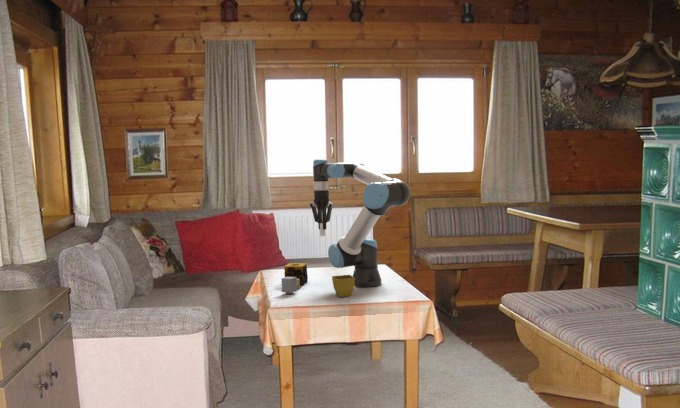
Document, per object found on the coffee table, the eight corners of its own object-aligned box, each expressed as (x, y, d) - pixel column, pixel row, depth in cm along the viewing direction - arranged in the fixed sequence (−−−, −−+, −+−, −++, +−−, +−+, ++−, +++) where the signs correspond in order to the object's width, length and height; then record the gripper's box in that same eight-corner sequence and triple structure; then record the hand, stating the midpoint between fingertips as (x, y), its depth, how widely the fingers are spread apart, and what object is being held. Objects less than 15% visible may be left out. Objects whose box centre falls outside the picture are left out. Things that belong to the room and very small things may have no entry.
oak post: (299, 288, 314) (299, 278, 313) (297, 289, 311) (296, 279, 311) (295, 288, 315) (295, 278, 314) (292, 289, 313) (292, 279, 312)
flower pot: (337, 298, 289) (336, 279, 289) (332, 295, 298) (331, 276, 297) (355, 297, 292) (355, 277, 291) (350, 293, 300) (349, 274, 300)
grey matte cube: (291, 292, 300) (290, 279, 299) (281, 292, 302) (281, 278, 302) (296, 290, 305) (296, 277, 304) (287, 290, 307) (287, 276, 306)
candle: (303, 286, 321) (302, 266, 320) (284, 285, 323) (283, 266, 322) (308, 282, 331) (307, 263, 330) (289, 281, 333) (288, 262, 332)
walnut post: (293, 293, 304) (292, 278, 303) (290, 294, 302) (289, 279, 301) (288, 292, 305) (287, 278, 305) (285, 294, 303) (285, 279, 302)
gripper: (336, 189, 323) (337, 235, 325) (313, 189, 329) (315, 234, 331) (329, 190, 317) (330, 237, 318) (306, 190, 323) (307, 236, 324)
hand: (322, 235), depth 325 cm, fingers closed
